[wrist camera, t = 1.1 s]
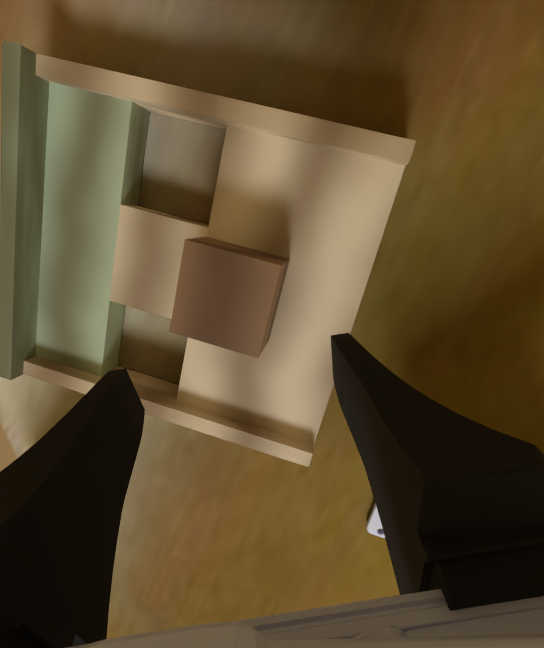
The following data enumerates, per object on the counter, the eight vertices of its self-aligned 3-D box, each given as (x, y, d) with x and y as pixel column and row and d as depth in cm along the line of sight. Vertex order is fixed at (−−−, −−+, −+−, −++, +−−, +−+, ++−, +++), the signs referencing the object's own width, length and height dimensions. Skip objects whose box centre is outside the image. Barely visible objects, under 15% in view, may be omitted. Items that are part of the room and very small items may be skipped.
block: (289, 259, 21) (281, 265, 18) (269, 339, 22) (258, 358, 19) (206, 236, 21) (184, 239, 18) (191, 317, 23) (169, 331, 20)
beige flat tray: (405, 152, 20) (420, 136, 17) (311, 440, 26) (307, 477, 22) (60, 71, 22) (3, 40, 19) (43, 354, 28) (-3, 375, 24)
